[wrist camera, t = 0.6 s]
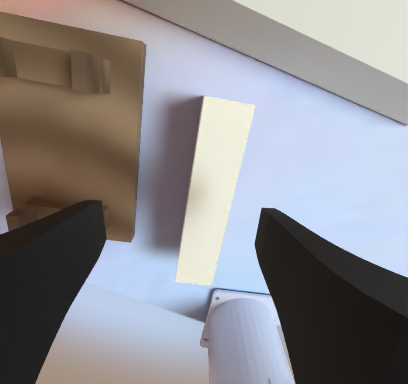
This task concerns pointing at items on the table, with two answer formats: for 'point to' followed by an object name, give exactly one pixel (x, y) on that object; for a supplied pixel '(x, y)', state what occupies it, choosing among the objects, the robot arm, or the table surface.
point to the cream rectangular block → (212, 186)
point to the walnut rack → (70, 120)
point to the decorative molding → (312, 41)
